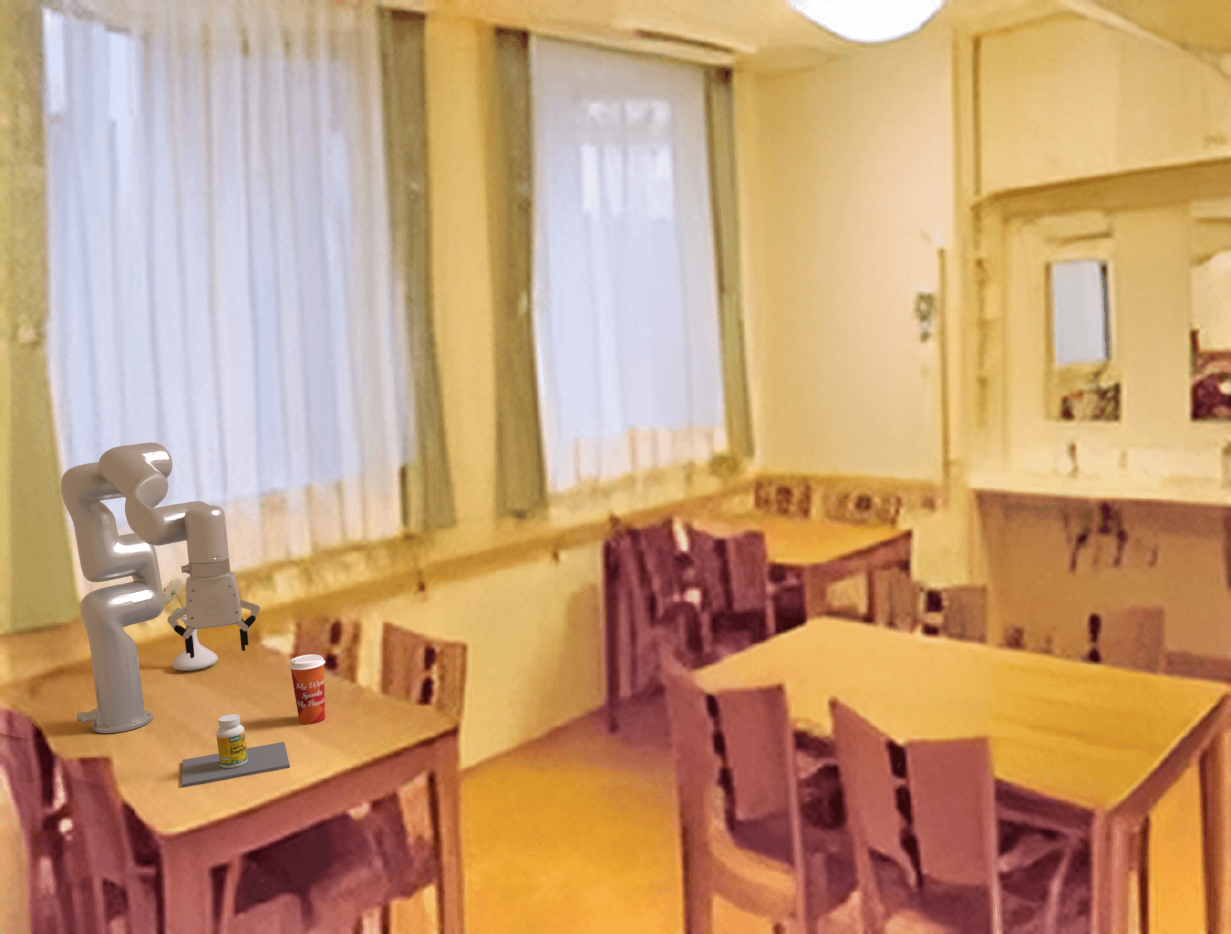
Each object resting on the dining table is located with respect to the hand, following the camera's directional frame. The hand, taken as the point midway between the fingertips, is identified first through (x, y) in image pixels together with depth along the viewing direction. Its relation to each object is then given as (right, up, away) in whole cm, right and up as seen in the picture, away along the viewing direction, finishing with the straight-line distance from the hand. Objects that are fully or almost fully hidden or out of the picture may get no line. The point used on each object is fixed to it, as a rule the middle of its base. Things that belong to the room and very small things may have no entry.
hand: (218, 652), depth 223 cm
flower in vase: (-32, -16, +72) cm, 81 cm away
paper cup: (+12, -19, +26) cm, 35 cm away
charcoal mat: (+3, -23, +2) cm, 23 cm away
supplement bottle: (+3, -23, +1) cm, 23 cm away
